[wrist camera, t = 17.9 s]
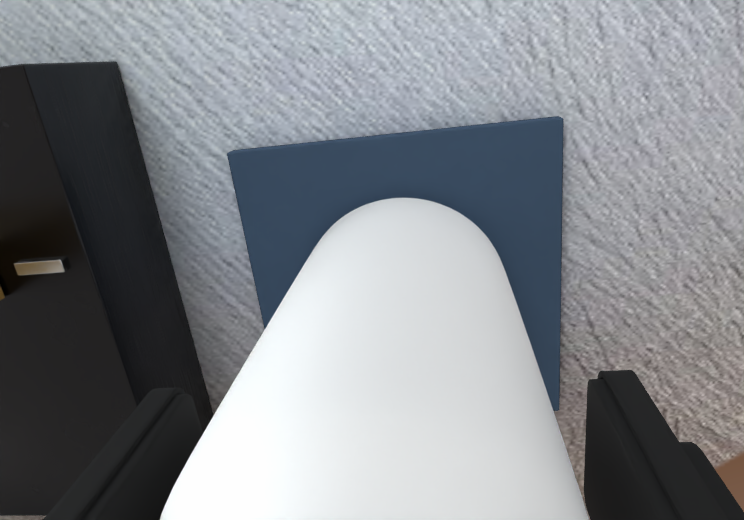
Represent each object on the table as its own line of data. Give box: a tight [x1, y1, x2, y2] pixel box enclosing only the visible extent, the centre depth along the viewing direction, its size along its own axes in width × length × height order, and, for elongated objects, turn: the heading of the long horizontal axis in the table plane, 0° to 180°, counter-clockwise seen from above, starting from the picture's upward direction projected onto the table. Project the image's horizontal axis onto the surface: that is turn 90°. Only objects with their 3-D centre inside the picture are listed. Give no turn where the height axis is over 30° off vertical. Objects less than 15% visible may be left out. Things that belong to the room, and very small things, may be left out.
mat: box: [227, 116, 563, 411], centre depth 17 cm, size 10×10×1 cm
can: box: [160, 198, 589, 520], centre depth 12 cm, size 6×6×12 cm
